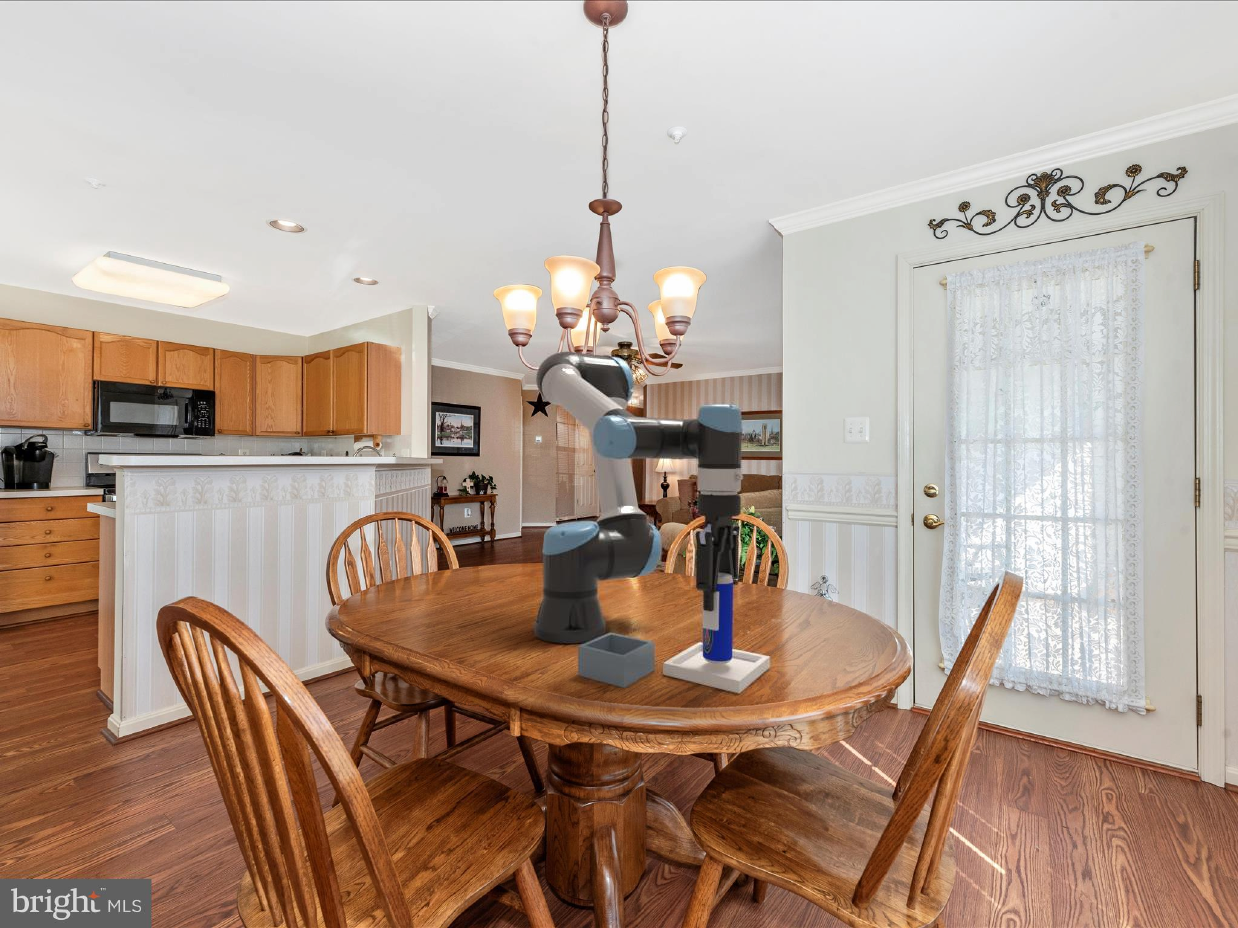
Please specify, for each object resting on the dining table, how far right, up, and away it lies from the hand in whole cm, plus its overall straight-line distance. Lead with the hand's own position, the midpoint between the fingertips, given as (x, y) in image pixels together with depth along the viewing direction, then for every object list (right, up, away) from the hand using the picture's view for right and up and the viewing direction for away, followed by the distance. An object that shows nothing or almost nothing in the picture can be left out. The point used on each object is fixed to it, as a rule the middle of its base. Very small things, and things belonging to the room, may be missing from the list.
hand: (717, 624), depth 101 cm
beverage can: (0, -6, 0) cm, 6 cm away
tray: (0, -8, 0) cm, 8 cm away
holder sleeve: (-18, -8, -1) cm, 20 cm away
